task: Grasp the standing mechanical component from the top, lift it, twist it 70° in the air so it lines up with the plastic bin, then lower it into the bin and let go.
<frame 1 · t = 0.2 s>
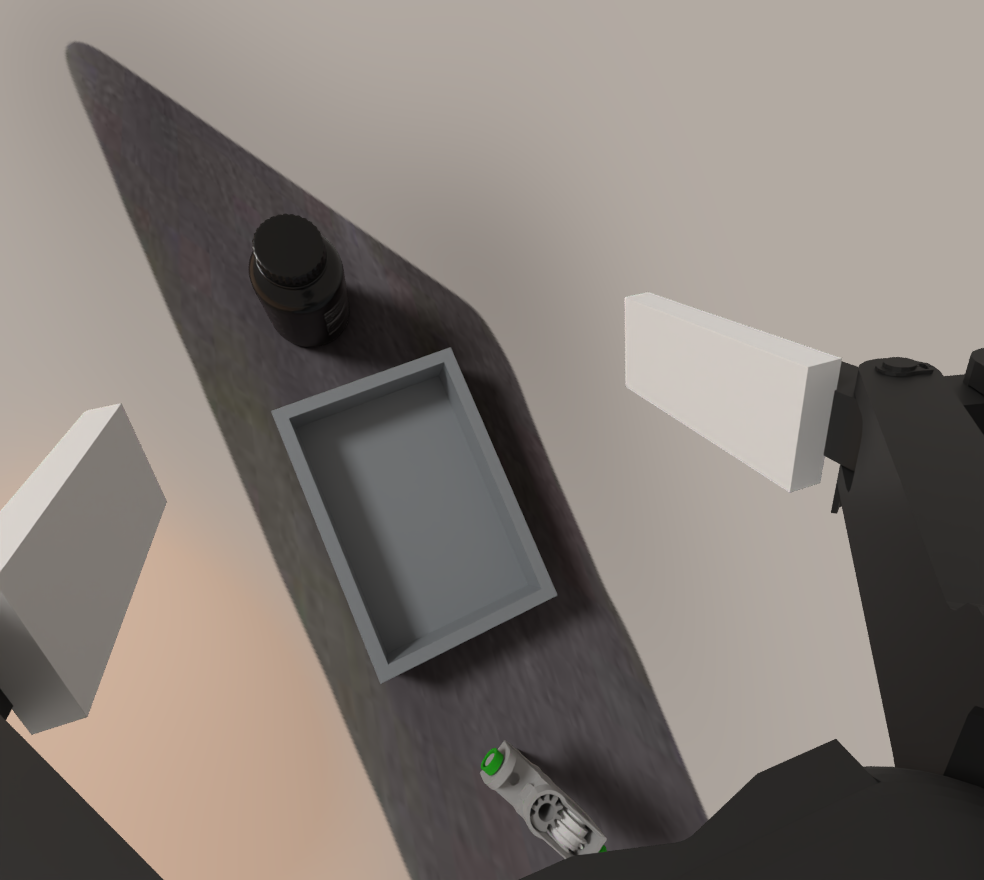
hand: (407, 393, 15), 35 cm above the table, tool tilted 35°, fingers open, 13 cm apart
bin: (413, 508, 49), on the table
supplement bottle: (309, 313, 50), on the table
mechanical component: (512, 757, 48), on the table
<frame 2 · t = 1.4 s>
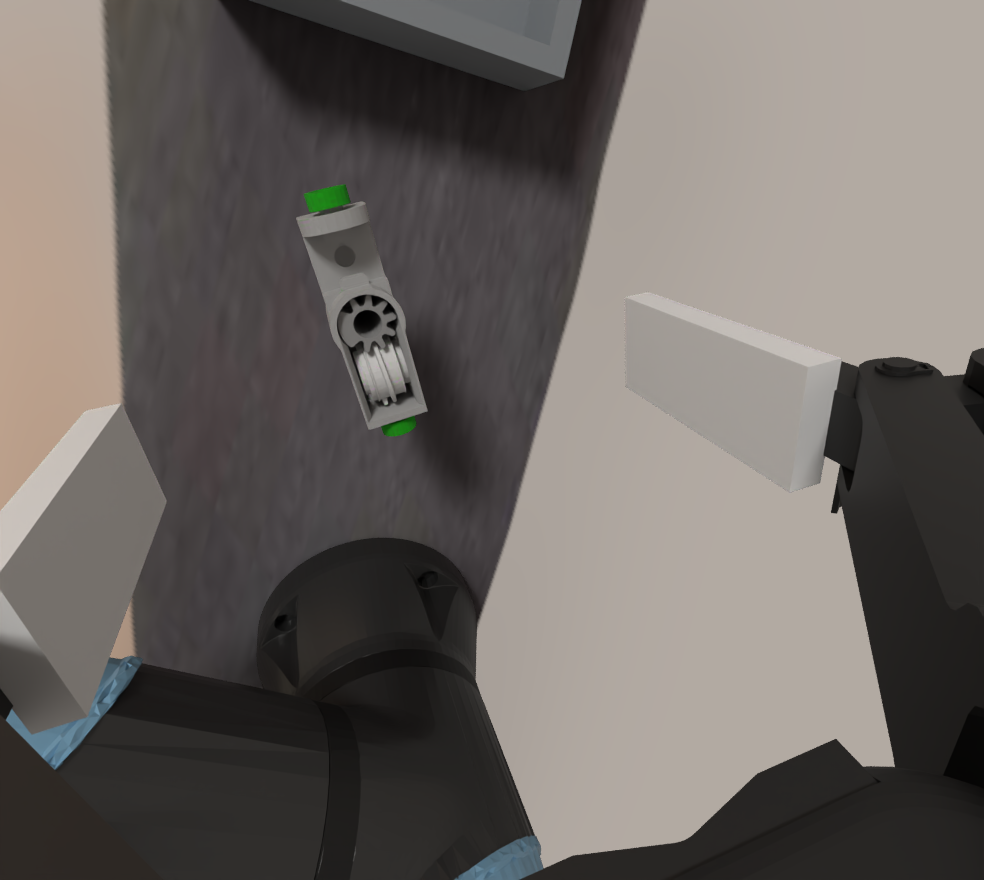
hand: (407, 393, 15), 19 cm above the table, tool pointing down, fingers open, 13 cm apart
mechanical component: (346, 283, 31), on the table
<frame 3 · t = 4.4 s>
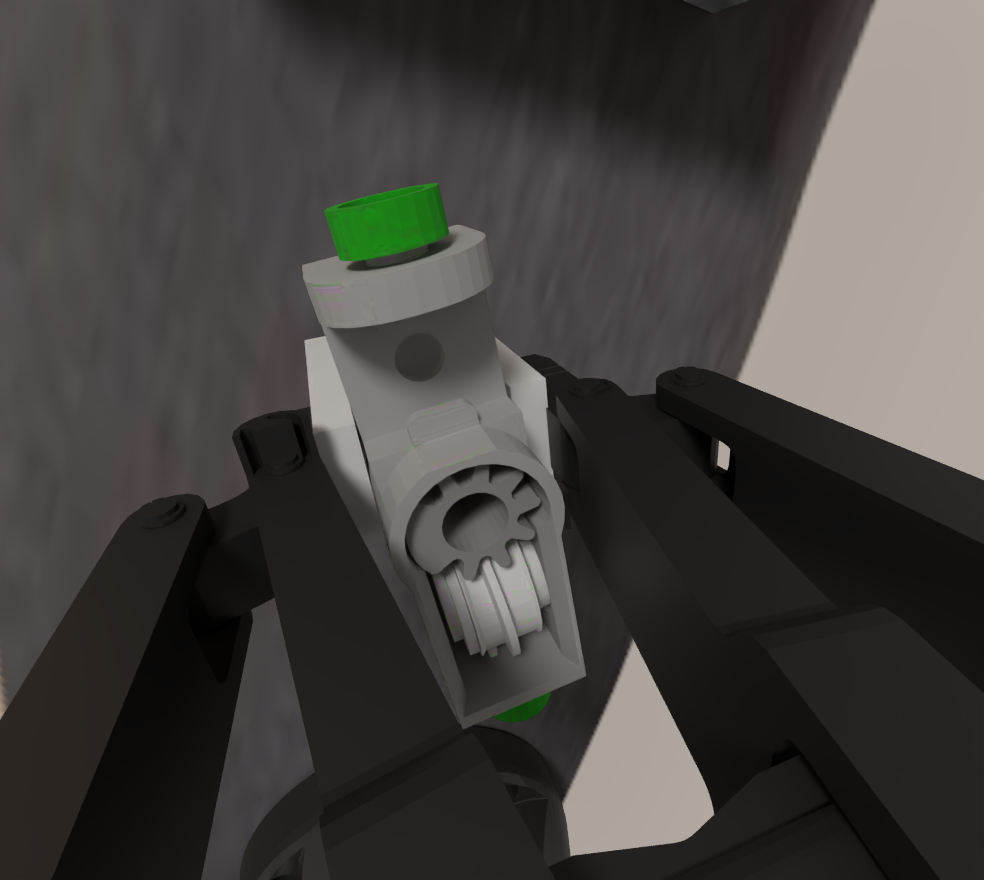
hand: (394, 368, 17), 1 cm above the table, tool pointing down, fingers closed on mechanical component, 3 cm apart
mechanical component: (388, 356, 18), on the table, touching gripper
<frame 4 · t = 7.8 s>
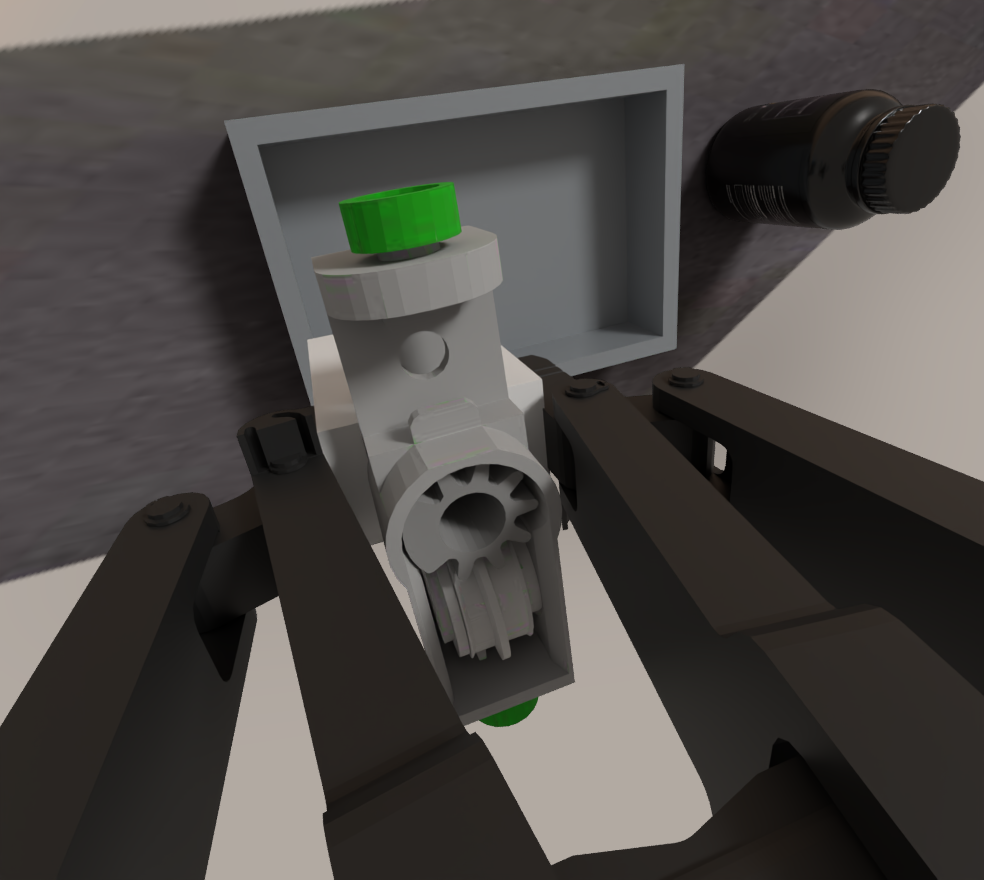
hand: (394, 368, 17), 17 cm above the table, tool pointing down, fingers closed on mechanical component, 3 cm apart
bin: (468, 247, 34), on the table
supplement bottle: (742, 164, 38), on the table
mechanical component: (386, 356, 18), point 16 cm above the table, touching gripper
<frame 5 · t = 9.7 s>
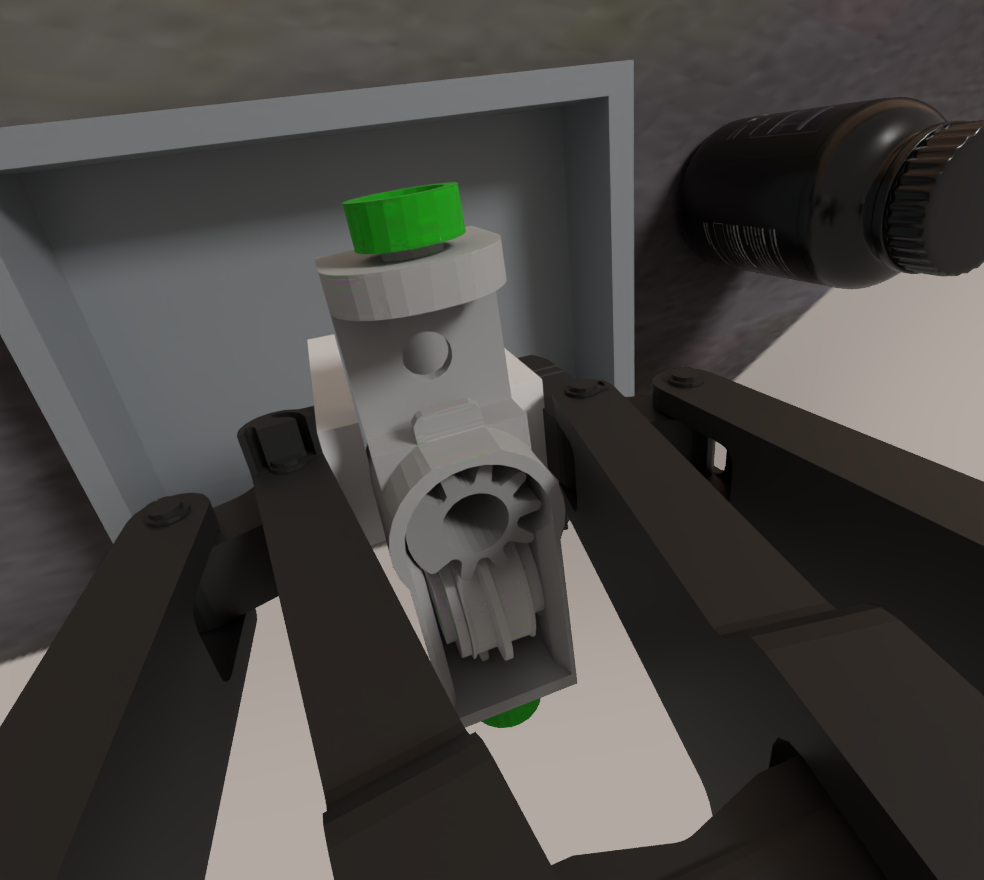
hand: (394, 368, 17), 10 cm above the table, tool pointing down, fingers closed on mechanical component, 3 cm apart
bin: (355, 302, 25), on the table
supplement bottle: (728, 193, 29), on the table
mechanical component: (388, 356, 18), point 9 cm above the table, touching gripper
when the fingers open (4 cm above the table, at t = 11.3 s): mechanical component drops 2 cm, resting on bin.
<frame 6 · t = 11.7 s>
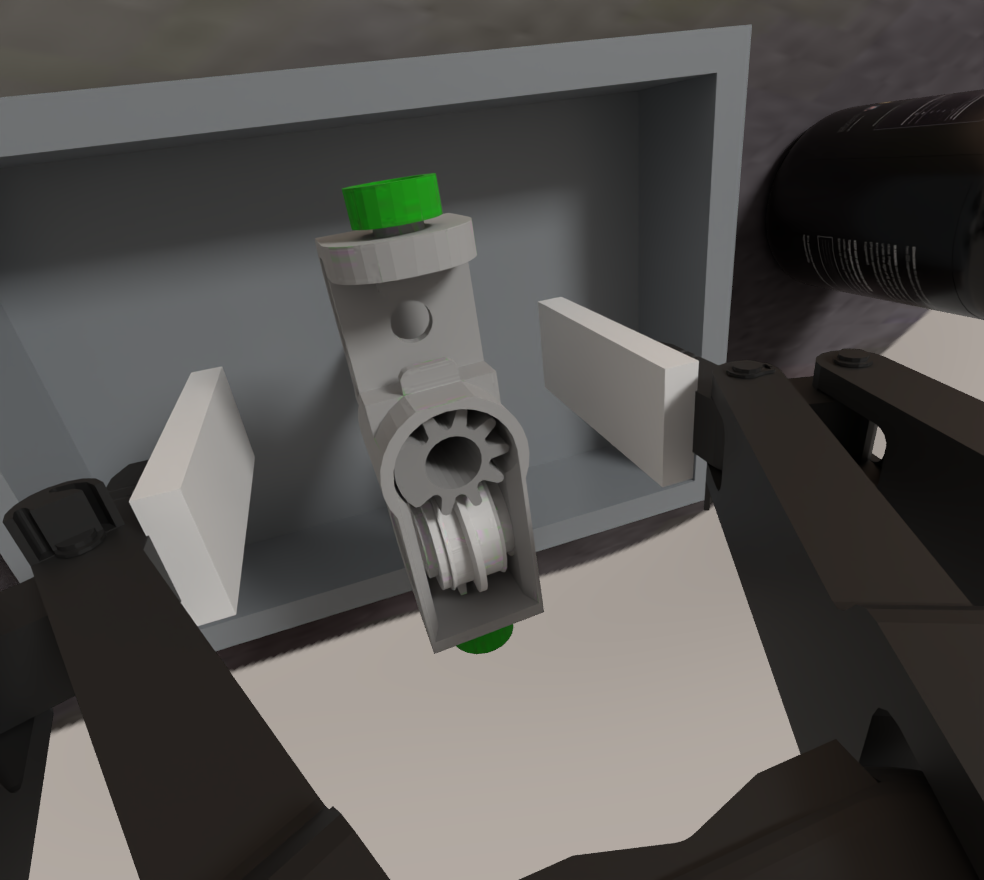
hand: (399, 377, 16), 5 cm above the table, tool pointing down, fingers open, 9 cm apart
bin: (376, 334, 20), on the table
supplement bottle: (823, 198, 24), on the table
mechanical component: (374, 340, 20), point 1 cm above the table, touching bin
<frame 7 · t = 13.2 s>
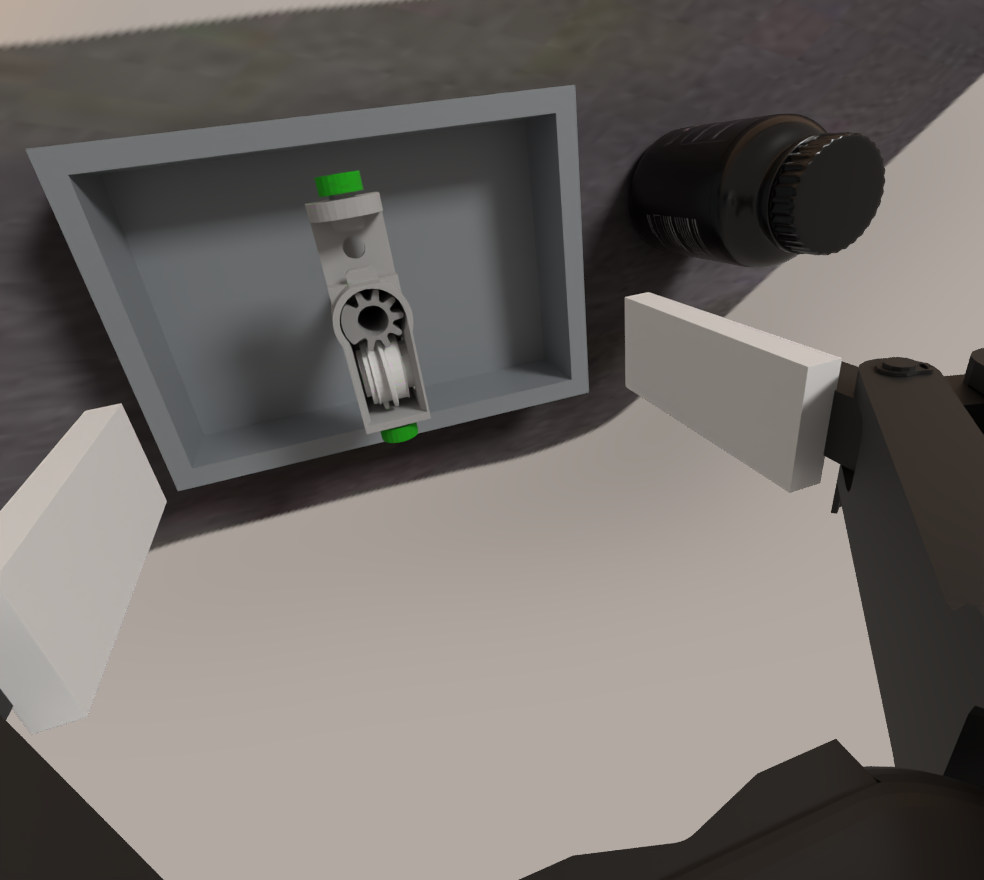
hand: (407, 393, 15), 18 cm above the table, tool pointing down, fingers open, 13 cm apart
bin: (358, 279, 31), on the table
supplement bottle: (673, 190, 34), on the table
mechanical component: (356, 281, 30), point 1 cm above the table, touching bin
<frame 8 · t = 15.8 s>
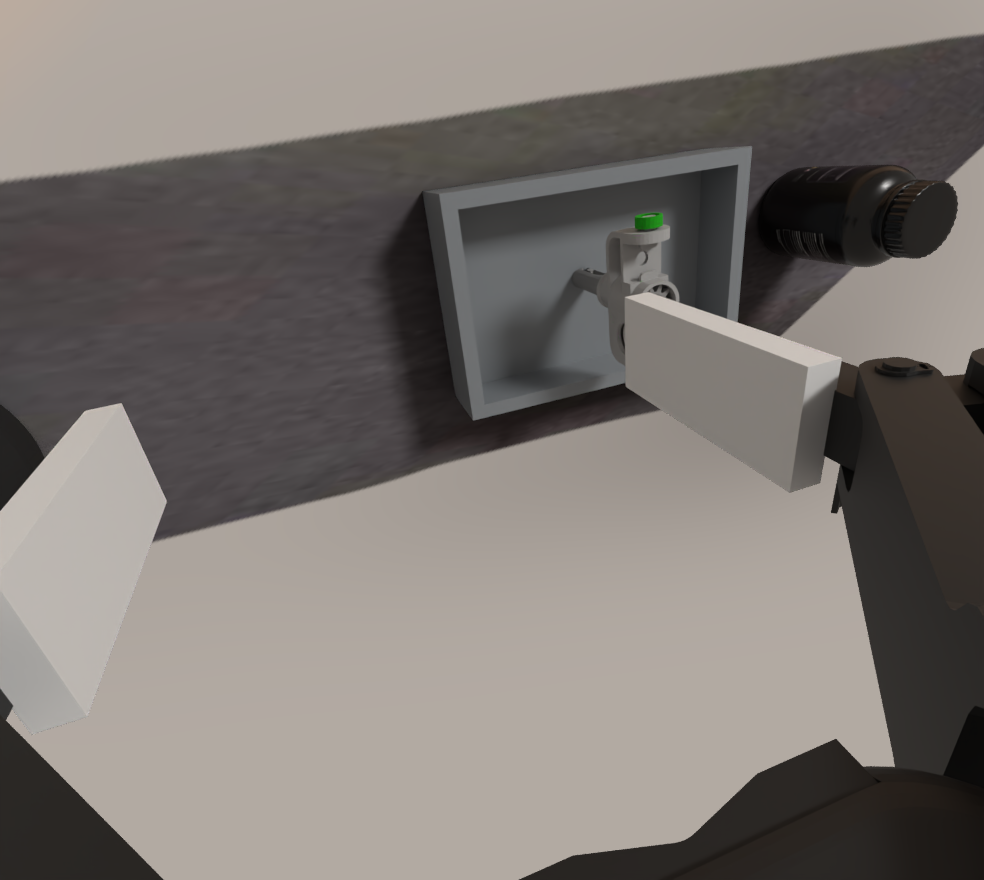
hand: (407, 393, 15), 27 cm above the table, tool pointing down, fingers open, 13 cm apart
bin: (577, 275, 44), on the table
supplement bottle: (788, 211, 47), on the table
mechanical component: (580, 277, 43), point 1 cm above the table, touching bin
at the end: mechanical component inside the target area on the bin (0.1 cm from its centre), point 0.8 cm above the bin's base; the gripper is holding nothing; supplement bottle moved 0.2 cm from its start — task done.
